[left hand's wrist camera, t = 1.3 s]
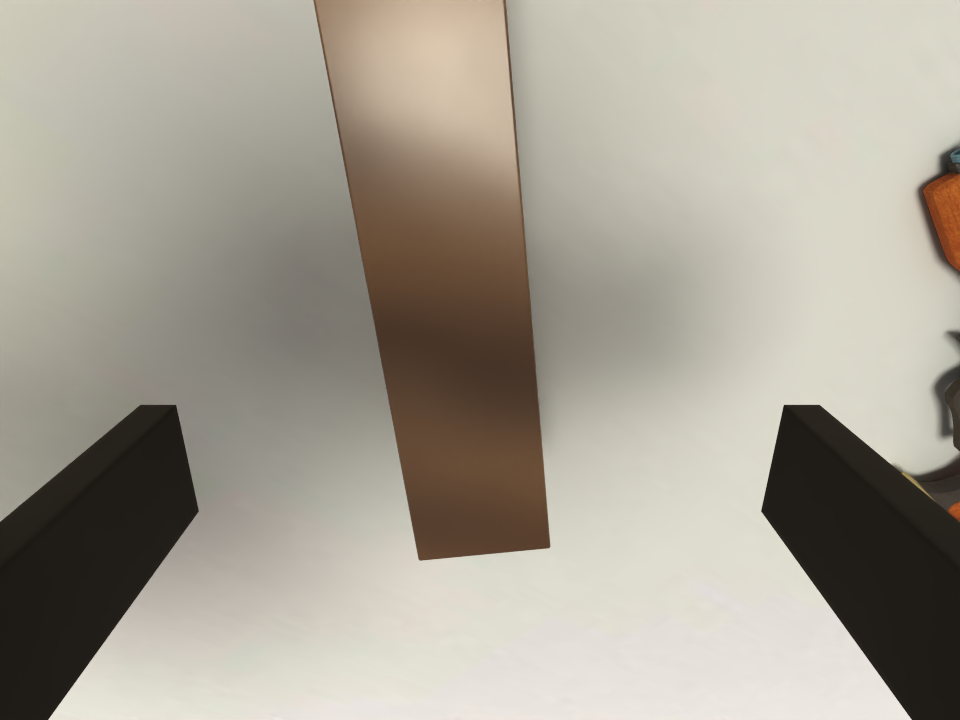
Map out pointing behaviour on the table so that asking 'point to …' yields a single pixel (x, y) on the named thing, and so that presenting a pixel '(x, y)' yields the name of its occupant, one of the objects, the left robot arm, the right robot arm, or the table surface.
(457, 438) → the beam
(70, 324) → the table surface
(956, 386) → the toy gun
